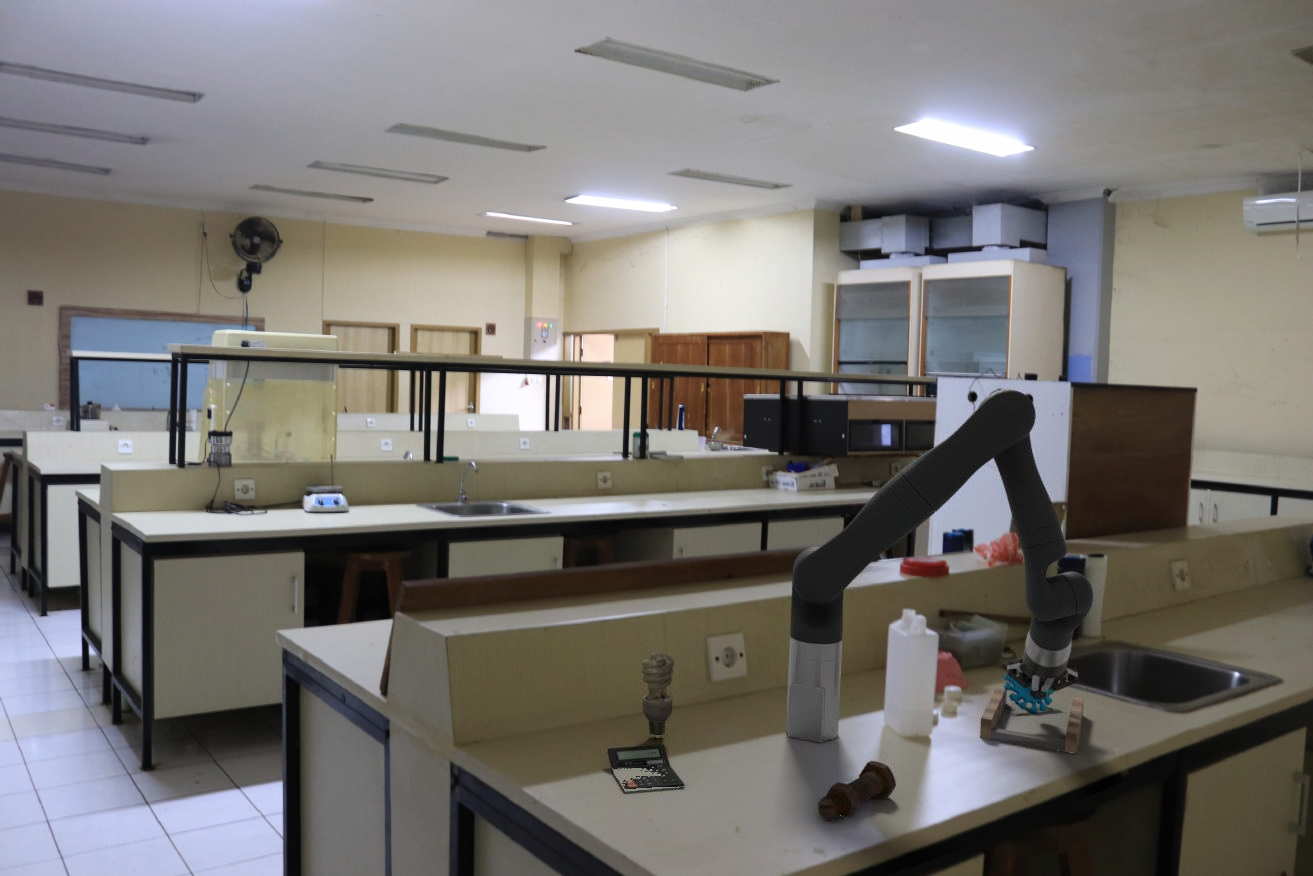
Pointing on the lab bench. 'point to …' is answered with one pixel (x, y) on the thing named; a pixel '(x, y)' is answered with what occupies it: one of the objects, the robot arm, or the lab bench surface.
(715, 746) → the lab bench surface
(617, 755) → the calculator
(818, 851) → the lab bench surface
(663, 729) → the light bulb
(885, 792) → the bolt
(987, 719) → the chute
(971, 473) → the robot arm
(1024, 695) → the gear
